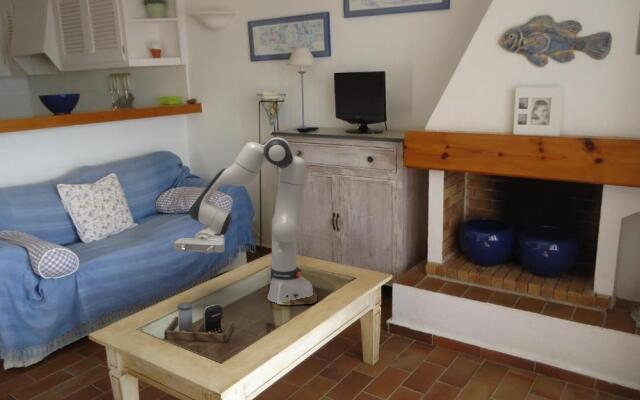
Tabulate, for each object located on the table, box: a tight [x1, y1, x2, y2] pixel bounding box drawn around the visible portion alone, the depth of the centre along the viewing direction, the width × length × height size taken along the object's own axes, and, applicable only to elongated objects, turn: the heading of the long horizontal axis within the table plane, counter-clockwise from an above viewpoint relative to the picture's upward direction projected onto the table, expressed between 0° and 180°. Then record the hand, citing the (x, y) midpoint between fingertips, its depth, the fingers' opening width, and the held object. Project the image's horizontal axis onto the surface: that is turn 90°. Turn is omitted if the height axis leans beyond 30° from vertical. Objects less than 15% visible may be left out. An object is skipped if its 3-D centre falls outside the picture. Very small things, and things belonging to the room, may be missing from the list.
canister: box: [177, 301, 194, 332], centre depth 206 cm, size 5×5×11 cm
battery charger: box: [203, 303, 224, 334], centre depth 204 cm, size 7×4×11 cm, turn 134°
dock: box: [163, 316, 235, 343], centre depth 206 cm, size 23×13×3 cm, turn 86°
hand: (194, 251), depth 214 cm, fingers open, 8 cm apart
